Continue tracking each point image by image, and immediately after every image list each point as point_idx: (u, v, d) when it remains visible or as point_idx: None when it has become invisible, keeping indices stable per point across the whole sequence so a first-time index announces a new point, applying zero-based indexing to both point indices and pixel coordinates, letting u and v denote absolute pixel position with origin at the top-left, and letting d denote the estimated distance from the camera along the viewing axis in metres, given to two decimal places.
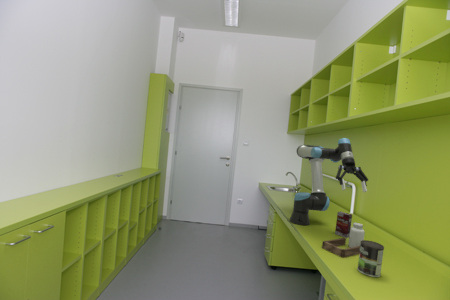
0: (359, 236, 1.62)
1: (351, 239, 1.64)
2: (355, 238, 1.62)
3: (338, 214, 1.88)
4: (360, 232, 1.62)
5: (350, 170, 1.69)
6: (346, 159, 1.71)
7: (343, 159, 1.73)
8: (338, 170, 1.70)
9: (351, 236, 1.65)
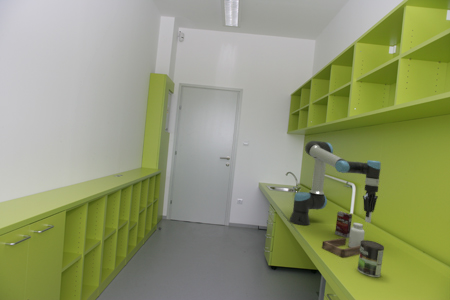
0: (359, 236, 1.62)
1: (351, 239, 1.64)
2: (355, 238, 1.62)
3: (338, 214, 1.89)
4: (360, 232, 1.62)
5: None
6: (373, 187, 1.66)
7: (369, 185, 1.67)
8: (364, 201, 1.68)
9: (351, 236, 1.65)
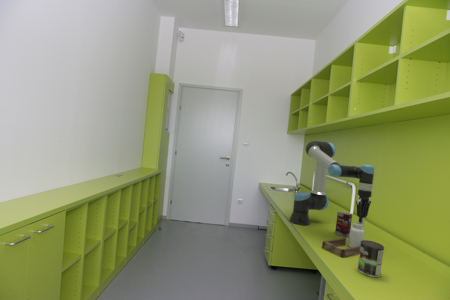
0: (359, 236, 1.62)
1: (351, 239, 1.64)
2: (355, 238, 1.62)
3: (338, 214, 1.89)
4: (360, 232, 1.62)
5: None
6: (366, 193, 1.63)
7: (362, 190, 1.64)
8: (357, 206, 1.65)
9: (351, 236, 1.65)
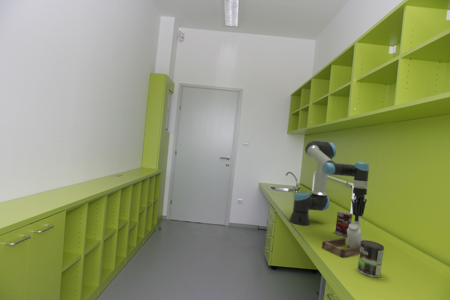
0: (357, 238, 1.59)
1: (349, 241, 1.62)
2: (353, 240, 1.60)
3: (338, 214, 1.89)
4: (357, 235, 1.58)
5: None
6: (361, 190, 1.59)
7: (358, 188, 1.61)
8: (353, 205, 1.61)
9: (349, 238, 1.62)
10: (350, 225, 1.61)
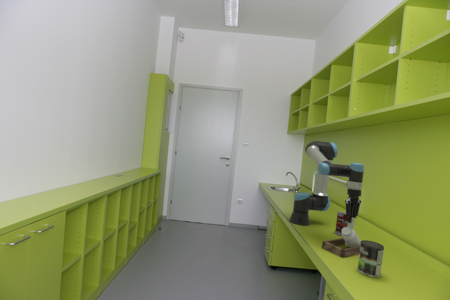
0: (353, 241, 1.58)
1: (347, 243, 1.62)
2: (350, 243, 1.59)
3: (338, 214, 1.89)
4: (352, 238, 1.56)
5: None
6: (355, 191, 1.57)
7: (352, 189, 1.58)
8: (346, 206, 1.58)
9: (346, 242, 1.61)
10: (343, 230, 1.59)
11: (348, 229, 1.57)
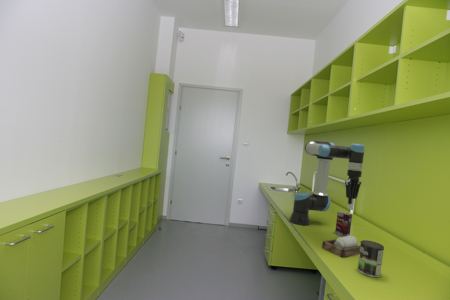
0: None
1: None
2: None
3: (338, 214, 1.89)
4: None
5: None
6: (356, 172, 1.56)
7: (352, 170, 1.57)
8: (346, 187, 1.58)
9: None
10: None
11: (339, 244, 1.54)
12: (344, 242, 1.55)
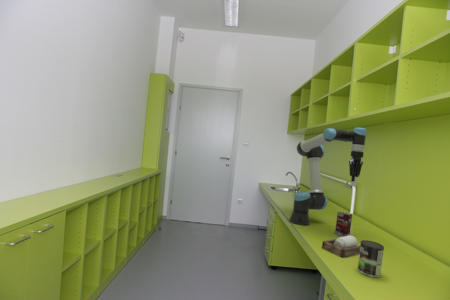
0: None
1: None
2: None
3: (338, 214, 1.89)
4: None
5: None
6: (358, 153, 1.75)
7: (355, 151, 1.76)
8: (350, 166, 1.77)
9: None
10: None
11: (339, 244, 1.55)
12: (344, 242, 1.55)
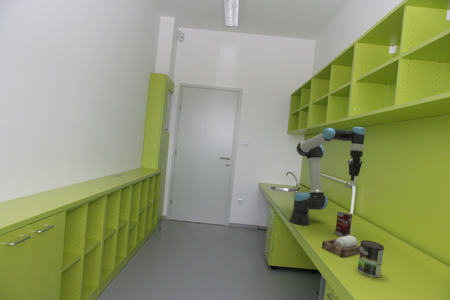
0: None
1: None
2: None
3: (338, 214, 1.89)
4: None
5: None
6: (357, 152, 1.75)
7: (354, 150, 1.76)
8: (349, 165, 1.77)
9: None
10: None
11: (339, 244, 1.55)
12: (344, 242, 1.55)
